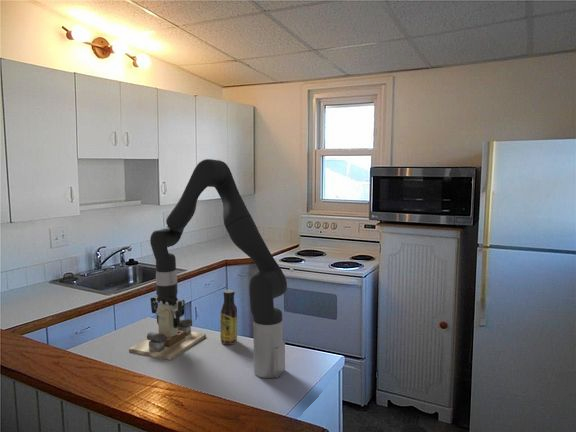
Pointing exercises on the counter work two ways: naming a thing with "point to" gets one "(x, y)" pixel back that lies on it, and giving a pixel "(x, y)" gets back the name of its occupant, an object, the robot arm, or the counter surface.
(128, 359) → the counter surface
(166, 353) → the board
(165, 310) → the skincare box
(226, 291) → the sauce bottle
